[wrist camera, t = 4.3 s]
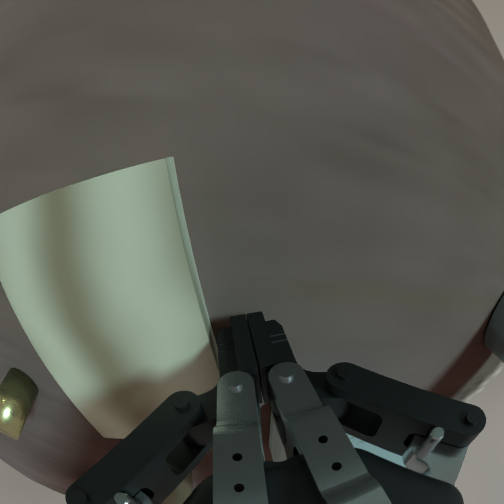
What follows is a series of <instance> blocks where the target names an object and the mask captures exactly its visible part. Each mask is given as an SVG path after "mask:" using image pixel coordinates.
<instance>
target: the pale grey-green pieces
mask: <svg viewBox="0 0 504 504" xmlns="http://www.w3.org/2000/svg"><path fill="white" fill-rule="evenodd" d="M0 281H1V283H2V286H3V288H4V290H5V293H6V295H7V297H8V299H9V301H10V304H11V306H12V308H13V310H14V312H15V314H16V316H17V318H18V320H19V322H20V323H21V325H22V327H23V329H24V331H25V333H26V334H27V336H28V338H29V340H30V341H31V343H32V345H33V346H34V348H35V350H36V351H37V353H38V355H39V356H40V358H41V359H42V361H43V362H44V364H45V365H46V367H47V368H48V370H49V371H50V373H51V374H52V376H53V377H54V378H55V380H56V381H57V383H58V384H59V385H60V387H61V388H62V389H63V391H64V392H65V393H66V395H67V396H68V397H69V398H70V400H71V401H72V402H73V403H74V405H75V406H76V407H77V408H78V410H79V411H80V412H81V413H82V414H83V415H84V417H85V418H86V419H87V420H88V421H89V422H90V423H91V425H92V426H93V427H94V428H95V429H96V430H97V431H98V432H99V433H100V434H101V435H102V436H103V437H104V438H117V439H124V438H125V437H127V436H128V435H129V434H130V433H131V432H132V431H133V430H134V429H135V428H136V427H137V426H138V425H139V424H141V423H142V422H143V421H144V420H145V419H146V418H147V417H148V416H149V415H150V414H151V413H152V412H153V411H154V410H155V409H156V408H157V407H158V406H159V405H160V404H161V403H162V402H164V401H165V400H166V399H167V398H168V397H169V396H170V395H171V394H173V393H175V392H178V391H191V392H193V393H195V394H196V395H200V394H203V393H205V392H208V391H210V390H211V389H213V388H214V387H215V386H216V385H217V383H218V381H219V379H220V372H219V360H218V348H217V345H216V341H215V338H214V334H213V330H212V327H211V323H210V320H209V316H208V312H207V308H206V305H205V301H204V297H203V293H202V289H201V285H200V281H199V277H198V273H197V269H196V265H195V261H194V256H193V252H192V248H191V243H190V239H189V234H188V230H187V225H186V220H185V216H184V211H183V206H182V201H181V196H180V191H179V186H178V180H177V175H176V169H175V164H174V158H173V157H169V158H165V159H160V160H156V161H152V162H148V163H144V164H140V165H136V166H132V167H128V168H125V169H121V170H117V171H114V172H110V173H107V174H104V175H100V176H97V177H94V178H91V179H88V180H84V181H81V182H78V183H75V184H72V185H70V186H67V187H64V188H61V189H58V190H56V191H53V192H50V193H48V194H45V195H42V196H40V197H37V198H35V199H32V200H30V201H27V202H25V203H23V204H20V205H18V206H16V207H13V208H11V209H9V210H7V211H4V212H2V213H0Z"/></svg>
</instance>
